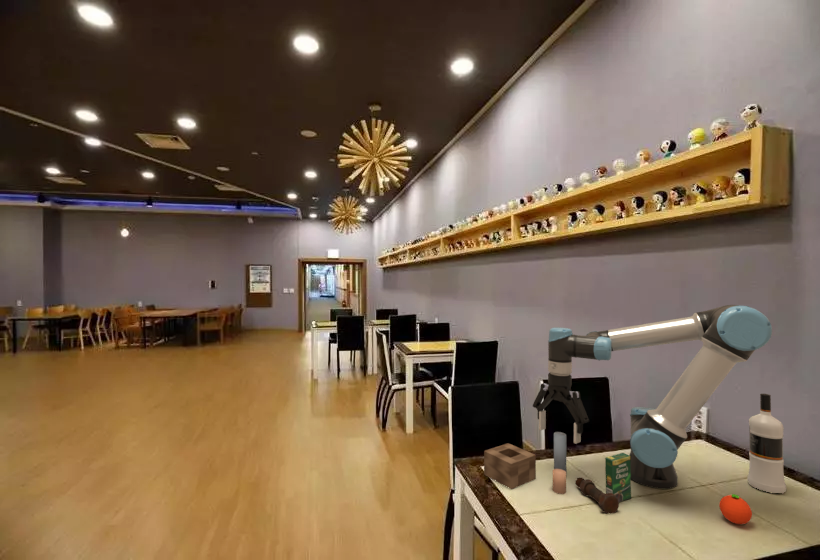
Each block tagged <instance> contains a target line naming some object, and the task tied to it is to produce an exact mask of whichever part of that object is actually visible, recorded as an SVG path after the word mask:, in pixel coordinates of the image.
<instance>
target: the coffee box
mask: <svg viewBox="0 0 820 560" xmlns="http://www.w3.org/2000/svg"><path fill="white" fill-rule="evenodd" d="M604 460H605V463H604V465H605V472H604V473H605V494H606V493H613V494H614V495H615V496H616V498H617V499H618V501H619V503H620V502H623V501H628V500H630V499H632V487H631V486H632V484H631V483H632V481H631V470H630V456H629V454H627V453H625V452H620V453H618V454H613V455H610V456H609V455H608V456H605V458H604Z"/></svg>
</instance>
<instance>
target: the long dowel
mask: <svg viewBox="0 0 820 560" xmlns="http://www.w3.org/2000/svg"><path fill="white" fill-rule="evenodd" d="M553 469H562V470H564V471H566V472H567V433H564V432H561V431H555V432H553Z"/></svg>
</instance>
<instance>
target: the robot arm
mask: <svg viewBox="0 0 820 560" xmlns="http://www.w3.org/2000/svg"><path fill="white" fill-rule="evenodd" d="M772 335H773V326H772V324H771V322H770V319H769V318H768V317H767V316H766V315H765V314H764V313H762V312H761V311H759V310H758V309H756V308H754V307H751V306H747V305H737V304H727V305H722V306H719V307H716V308H712V309H708V310H702V311H698V312H694V313H693V314H692V315H691V316H688V317H687V316H686V317H680V318H675V319H668V320H667V319H666V320H661V321H656V322H655V321H654V322H649V323H644V324H643V323H642V324H639V325H638V324H637V325H630V326H624V327H618V328H611V329H607V330H601V331H597V330H595V331H589V333H587V334H586V335H579V334H578V335H577V334H573V330H572V328H567V327H551V328H550V329H549V330H548V340H547V343H548V344H547V345H548V347H547V348H548V352H547V353H548V357H547V358H548V363H547V364H548V365H547V366H548V367H547V371H548V374H547V382H544V383H541V384H540V387H539V392H538V393H537V395H536V397H535V399H534V401H533V403H532V407H533V408H535V409H536V410H537V420H538V430H539V431H544V430H546V427H547V426H546V421H547V419H546V414H547V413H546V412H547V411H546V410H545V408H547V406H548V405H549V404H550V403H551V402H552V401H558V402H560V403H563V404H564V405H565V406H566V408H567V409H568V411H569V413H570V414H571V416H572V418H573V420H574V423H573V444H576V445H577V444H579V443H581V440H582V437H581V436H582V434H583V432H584V424H587V423H589V422H590V419H589V417H588V415H587V414H588V413H587V411H586V409H585V406H584V404H583V401H582V399H581V392H580V391H579V390H578V391H577V390H576V391H574V390H573V391H572V389H571V387H572V372H573V371H572V369H573V365H572V364H573V363H572V362H573V361H572V359H573V358H577V359H587V360H597V361H610V360H611V359H612V353H613V352H617V351H624V350H631V349H632V350H633V349H637V348H639V349H640V348H646V347H654V346H655V347H656V346H662V345H668V344H669V345H670V344H676V343H677V344H678V343H684V342H692V341H700V342H702V347H701V348H700V349H699V351H698V352H697V353H696V354H695V356H694V357H693V358H692V360H691V361H690V363H689V364H688V365H687V367H686V368H685V369H684V371H683V372H682V374H681V375H680V377H679V378H678V379H677V380H676V381H675V383H674V384H673V385H672V387H671V388H670V390H669V391H668V393H666V395H665V397H664V398H663V399H662V401H661V402H660V403H659V405H658V406H657V407H656V408H653V407H645V406H633V407H631V409H630V413H629V416H630V439H629V446H630V452H629V453H628V455H629V456H630V470H631V480H632V481H634V483H635V482H636V483H638V484H640V485H642V486H647V487H649V488H655V489H665V490H667V489H673V488H675V487H677V486H678V484H679V482H678V481H679V479H678V474H677V471H676V468H675V466H674V463H675V461H676V460H677V458H678V453H679V452H678V450H679V448H680V447H681V446H682V445H683V443H685V441H686V439H687V438H688V434H687V431H686V430H687V428H688V426H689V425H690V423H692V422H693V420H694V418H695V417H696V416H697V414H699V412H700V411H701V410H702V408H703V407H704V406H705V404H706V403H707V402H708V401H709V399H710V398H711V397H712V395H713V394H714V393H715V392H716V390H717V389H718V387H719V386H720V385H721V383H722V382H723V381H724V379H726V378H727V376H728V375H729V373H730V372H731V370H732V369H733V368H734V366H735V365H737V363H741V362H742V363H744V362H747V361H748V360H749V358H751V356H752V355H753V354H754V352H755V351H757V350H759V349H760V348H762V347H764V346H766V345H767V344H768V343H769V341H770V340H771V338H772ZM547 391H548V392H549V393H548V394H547ZM546 394H547V395H546ZM544 398H545V399H544ZM543 399H544V400H543Z"/></svg>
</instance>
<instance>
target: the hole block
mask: <svg viewBox="0 0 820 560" xmlns="http://www.w3.org/2000/svg"><path fill="white" fill-rule="evenodd" d="M536 455H537V454H534V453H532V452H530V451H527V450H525V449H523V448H520V447H518V446H516V445H515V444H514V445H513V444H511V443H509V442H508V443H504V444H502V445H499V446H495V447H492V448H489V449H485V450H483V475H484V476H486V477H488V478H490V479H491V478H492V479H491V480H493V481H495V480H496V481H495V482H497V483H499V484H501V485H502V484H503V486H504V485H505V486H504V487H506V486H507V487H506V488H508V487H509V488H508V489H510V490H514V489H515V488H518V487H520V486H523V485H525V484H528V483H530V482H532V481H535V480H536V479H537V476H536V475H537V472H536V471H537V468H536V467H537V464H536V463H537V459H536V458H537V456H536Z"/></svg>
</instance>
